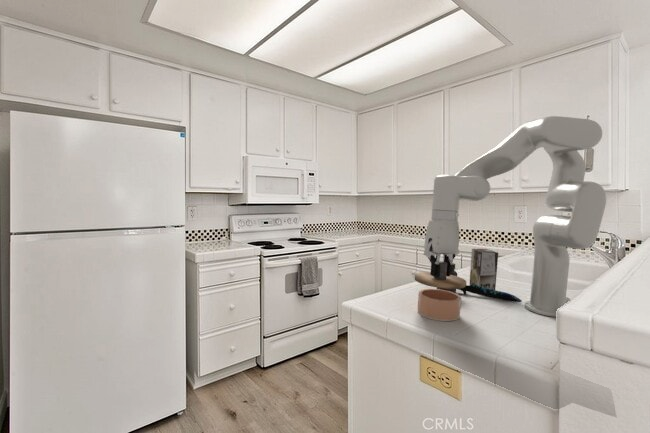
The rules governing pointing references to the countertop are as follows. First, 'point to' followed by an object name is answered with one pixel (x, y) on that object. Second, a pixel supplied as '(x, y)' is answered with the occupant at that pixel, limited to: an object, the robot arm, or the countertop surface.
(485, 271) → the coffee box
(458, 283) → the lid
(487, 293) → the knife
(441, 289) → the supplement bottle
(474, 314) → the countertop surface
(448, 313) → the bowl
